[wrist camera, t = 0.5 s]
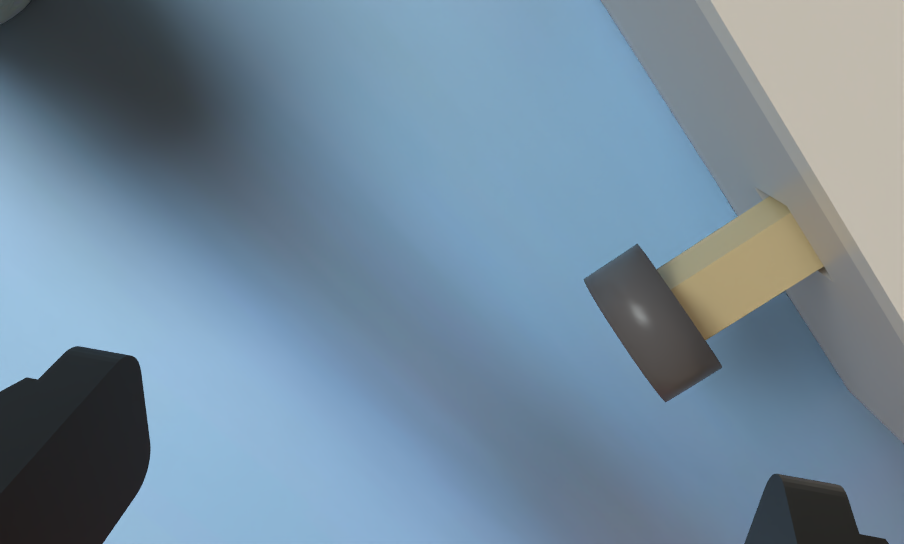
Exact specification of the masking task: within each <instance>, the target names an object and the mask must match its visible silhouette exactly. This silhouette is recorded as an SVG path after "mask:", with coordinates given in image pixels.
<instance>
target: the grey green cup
mask: <svg viewBox="0 0 904 544" xmlns="http://www.w3.org/2000/svg"><path fill="white" fill-rule="evenodd" d="M30 1H31V0H0V25H1V24H3V23H4V22H6V21H8V20H9V19H11V18H13V17H14V16H15V15H17V14H18V13H19V12H20V11H22V10H23V9H24V8H25V7H26V6H27V5H28V3H29V2H30Z"/></svg>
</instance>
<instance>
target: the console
mask: <svg viewBox="0 0 904 544" xmlns="http://www.w3.org/2000/svg"><path fill="white" fill-rule="evenodd" d="M601 2H602V3H603V5H604V6H605V8H606V9H607V11H608V13H609V14H610V16H611V17H612V19H613V20H614V22H615V24H616V25H617V27H618V28H619V30H620V31H621V33H622V35H623V36H624V38H625V39H626V41H627V43H628V44H629V46H630V47H631V49H632V50H633V52H634V54H635V55H636V57H637V58H638V60H639V61H640V63H641V65H642V66H643V68H644V69H645V71H646V72H647V74H648V76H649V77H650V79H651V80H652V82H653V83H654V85H655V87H656V88H657V90H658V91H659V93H660V94H661V96H662V98H663V99H664V101H665V102H666V104H667V105H668V107H669V109H670V110H671V112H672V113H673V115H674V116H675V118H676V120H677V121H678V123H679V124H680V126H681V128H682V129H683V131H684V132H685V134H686V135H687V137H688V139H689V140H690V142H691V143H692V145H693V146H694V148H695V150H696V151H697V153H698V154H699V156H700V157H701V159H702V161H703V162H704V164H705V165H706V167H707V168H708V170H709V172H710V173H711V175H712V176H713V178H714V179H715V181H716V183H717V184H718V186H719V187H720V189H721V190H722V192H723V194H724V195H725V197H726V198H727V200H728V201H729V203H730V205H731V206H732V208H733V209H734V211H735V212H736V214H737V216H740V215H741V214H743V213H744V212H746V211H747V210H749V209H751V208H752V207H754V206H755V205H757V204H758V203H760V202H761V201H763V200H764V199H766V198H767V197H769V196H771V197H773V198H774V199H776V200H778V201H779V202H781V203H783V204H784V205H786V206H787V207H788V209H789V210H790V212H791V214H792V215H793V217H794V219H795V220H796V222H797V223H798V225H799V227H800V228H801V230H802V231H803V233H804V235H805V236H806V238H807V240H808V241H809V243H810V244H811V246H812V248H813V249H814V251H815V253H816V254H817V256H818V257H819V259H820V261H821V262H822V264H823V266H824V267H822V268H820V269H819V270H817V271H816V272H814V273H812V274H811V275H809V276H808V277H806V278H804V279H803V280H801V281H800V282H798V283H796V284H795V285H793V286H792V287H790V288H788V289H787V290H785V291H786V293H787V294H788V296H789V297H790V299H791V301H792V302H793V304H794V305H795V307H796V308H797V310H798V312H799V313H800V315H801V316H802V318H803V320H804V321H805V323H806V324H807V326H808V327H809V329H810V331H811V332H812V334H813V335H814V337H815V338H816V340H817V342H818V343H819V345H820V346H821V348H822V349H823V351H824V353H825V354H826V356H827V357H828V359H829V360H830V362H831V364H832V365H833V367H834V368H835V370H836V371H837V373H838V375H839V376H840V378H841V379H842V381H843V382H844V384H845V386H846V387H847V389H848V390H849V391H850V392H851V393H852V394H853V395H854V396H855V397H856V398H857V399H858V400H859V401H860V402H861V403H862V404H863V405H864V406H865V407H866V408H867V409H868V410H869V411H870V412H871V413H872V414H873V415H874V416H876V417H877V418H878V419H879V420H880V421H881V422H882V423H883V424H884V425H885V426H886V427H887V428H888V429H889V430H890V431H891V432H892V433H893V434H894V435H895V436H896V437H897V438H898V439H899V440H900V441H901V442H902V443H903V444H904V0H601Z"/></svg>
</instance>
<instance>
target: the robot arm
mask: <svg viewBox="0 0 904 544" xmlns="http://www.w3.org/2000/svg"><path fill="white" fill-rule="evenodd" d="M149 460H150V438H149V431H148V423H147V415H146V407H145V399H144V391H143V383H142V375H141V369H140V365H139V362H138V361H137V359H136V358H135V357H133V356H130V355H124V354H119V353H113V352H108V351H102V350H97V349H91V348H85V347H79V346H76V347H73V348H71V349H69V350H68V351H66V352H65V353H64V354H63V355H62V356H61V357H60V358H59V359H58V360H57V361H56V362H55V363H54V364H53V365H52V366H51V367H50V368H49V369H48V370H47V371H46V372H45V373H44V374H43V375H42V376H41V377H40V378H39V379H38V380H37V379H32V378H25V379H23V380H21V381H19V382H17V383H15V384H14V385H12V386H10V387H8V388H6V389H4V390H2V391H1V392H0V544H103V542H104V541H105V539H106V538H107V537H108V535H109V534H110V532H111V531H112V529H113V528H114V526H115V525H116V524H117V522H118V521H119V519H120V518H121V516H122V515H123V513H124V512H125V511H126V509H127V508H128V506H129V505H130V503H131V502H132V500H133V499H134V498H135V496H136V495H137V493H138V491H139V490H140V488H141V486H142V483H143V481H144V478H145V476H146V473H147V469H148V465H149ZM745 544H889V543H888V542H887V541H886V539H883V538H877V537H872V536H866V535H861V534H859V531H858V528H857V525H856V522H855V519H854V516H853V513H852V510H851V506H850V503H849V500H848V497H847V495H846V492H845V491H844V489H843V488H842V487H841V486H840V485H836V484H831V483H825V482H819V481H814V480H808V479H803V478H797V477H792V476H786V475H781V474H773V475H772V476H771V477H770V478H769V480H768V482H767V484H766V487H765V489H764V492H763V495H762V497H761V500H760V503H759V506H758V508H757V511H756V514H755V516H754V519H753V522H752V525H751V527H750V530H749V533H748V536H747V538H746V541H745Z"/></svg>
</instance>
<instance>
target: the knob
mask: <svg viewBox="0 0 904 544" xmlns="http://www.w3.org/2000/svg"><path fill="white" fill-rule="evenodd" d="M822 267H824V266H823V264H822V262H821V261H820V259H819V257H818V256H817V254H816V253H815V251H814V249H813V248H812V246H811V244H810V243H809V241H808V240H807V238H806V236H805V235H804V233H803V231H802V230H801V228H800V227H799V225H798V223H797V222H796V220H795V219H794V217H793V215H792V214H791V212H790V210H789V209H788V207H787V206H786V205H784V204H783V203H781V202H779V201H778V200H776V199H774V198H773V197H771V196H769V197H767V198H766V199H764V200H763V201H761V202H760V203H758V204H757V205H755V206H754V207H752V208H751V209H749V210H747V211H746V212H744V213H743V214H741V215H740V216H738V217H737V218H735V219H734V220H732V221H731V222H729V223H727V224H726V225H724V226H723V227H721V228H720V229H718V230H717V231H715V232H714V233H712V234H711V235H709V236H707V237H706V238H704V239H703V240H701V241H700V242H698V243H697V244H695V245H694V246H692V247H691V248H689V249H687V250H686V251H684V252H683V253H681V254H680V255H678V256H677V257H675V258H674V259H672V260H671V261H669V262H667V263H666V264H664V265H663V266H661V267H660V268H658V269H657V270H656V268H655V267H654V265H653V264H652V263H651V261H650V260H649V258H648V257H647V256H646V254H645V253H644V252H643V250H642V249H641V248H640V246H639V245H638V244H636V245H635V246H633V247H632V248H630V249H629V250H627V251H626V252H624V253H623V254H621V255H620V256H618V257H617V258H615V259H614V260H612V261H611V262H609V263H608V264H606V265H605V266H603V267H601V268H600V269H598V270H597V271H595V272H594V273H592V274H591V275H589V276H588V277H586V278H585V279H584V282H585V284H586V286H587V288H588V290H589V292H590V293H591V295H592V297H593V298H594V300H595V302H596V303H597V305H598V307H599V308H600V310H601V312H602V313H603V315H604V316H605V318H606V319H607V321H608V323H609V324H610V326H611V327H612V329H613V330H614V332H615V333H616V335H617V336H618V338H619V339H620V341H621V342H622V344H623V345H624V347H625V348H626V350H627V351H628V353H629V354H630V356H631V357H632V359H633V360H634V361H635V363H636V364H637V366H638V367H639V369H640V370H641V371H642V373H643V374H644V376H645V377H646V378H647V380H648V381H649V382H650V384H651V385H652V386H653V388H654V389H655V390H656V392H657V393H658V394H659V395H660V397H661V398H662V399H663V400H664V401H665V402H667V401H669V400H671V399H672V398H674V397H675V396H677V395H679V394H680V393H682V392H684V391H685V390H687V389H688V388H690V387H692V386H693V385H695V384H697V383H698V382H700V381H701V380H703V379H705V378H706V377H708V376H710V375H711V374H713V373H714V372H716V371H718V370H719V369H721V368H722V366H721V364H720V362H719V361H718V359H717V358H716V356H715V354H714V353H713V351H712V350H711V348H710V347H709V345H708V344H707V342H706V341H705V340H707V339H708V338H710V337H712V336H713V335H715V334H716V333H718V332H720V331H721V330H723V329H724V328H726V327H728V326H729V325H731V324H732V323H734V322H736V321H737V320H739V319H740V318H742V317H744V316H745V315H747V314H748V313H750V312H752V311H753V310H755V309H756V308H758V307H760V306H761V305H763V304H764V303H766V302H768V301H769V300H771V299H772V298H774V297H776V296H777V295H779V294H780V293H782V292H784V291H785V290H787V289H788V288H790V287H792V286H793V285H795V284H796V283H798V282H800V281H801V280H803V279H804V278H806V277H808V276H809V275H811V274H812V273H814V272H816V271H817V270H819V269H820V268H822Z"/></svg>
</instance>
